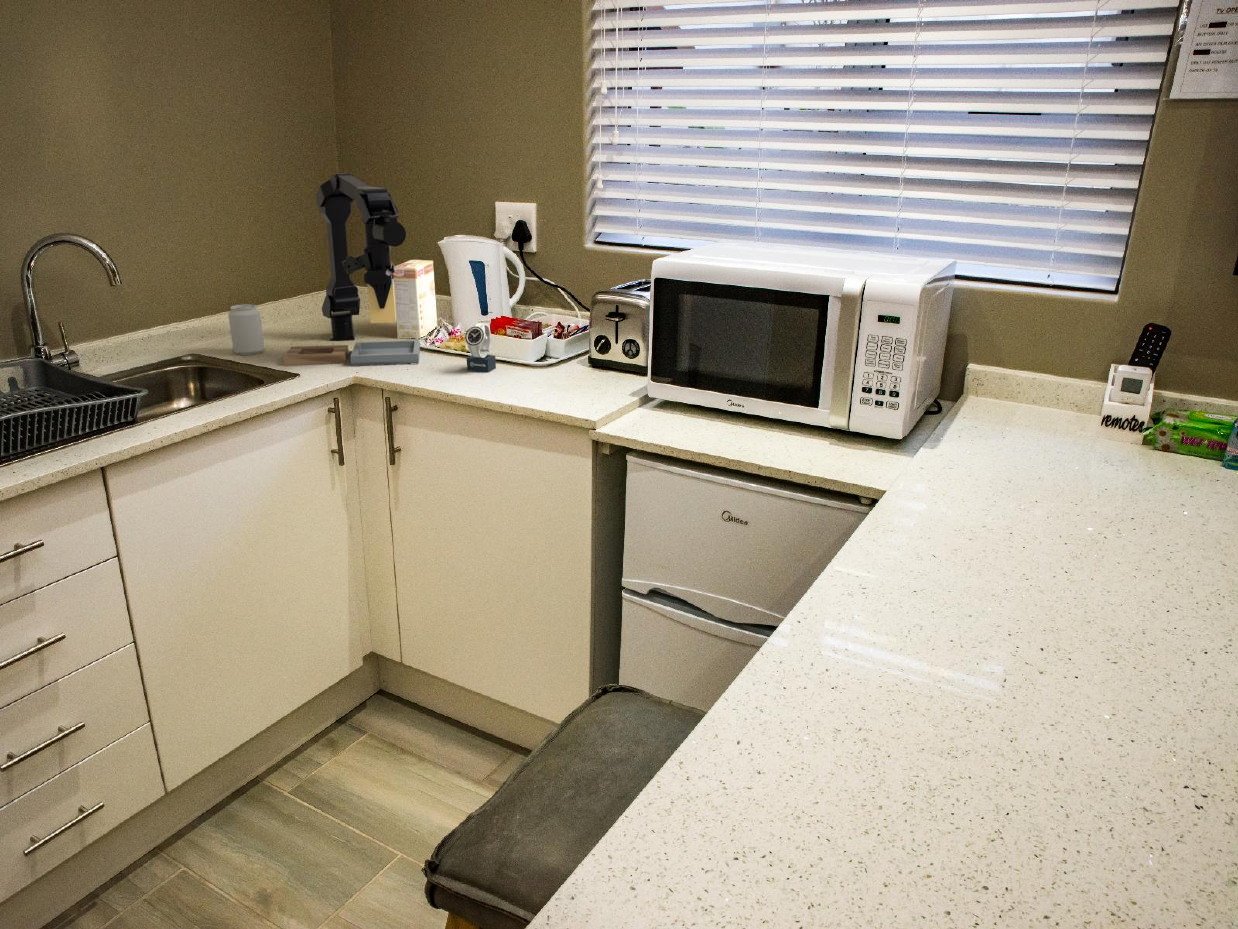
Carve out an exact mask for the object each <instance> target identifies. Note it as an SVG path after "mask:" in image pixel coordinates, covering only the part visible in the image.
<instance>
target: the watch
mask: <svg viewBox="0 0 1238 929" xmlns="http://www.w3.org/2000/svg"><path fill="white" fill-rule="evenodd" d="M491 335H492V333H491V328H490V326H489V325H488V324H487V323H479V322H478V323H477V322H476V323H474V324H472V325H471V327H469V328H468V329H467V331H466V333H465V335H464V340H465V343H466V344H467V345H466V346H467V349H468V350H469V353H470V355H469V356H467V357H466V371H467V372H468V371H469V372H478V373H490V372H491V371H494V370H495V369H497V366H496V365H497V364H496V355H492V354H491V355H490V354H489V353H490V350H491V344H492V343H491V342H492V337H491Z"/></svg>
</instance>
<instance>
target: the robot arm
mask: <svg viewBox="0 0 1238 929" xmlns="http://www.w3.org/2000/svg"><path fill="white" fill-rule="evenodd" d="M354 201H355V202H356V203H355V206H356V208H357V209H358V210H359V212H360V213H361V215H362V217H361V219H360V221H361V222H363V232H364V242H365V245H364V246H365V247H364V248H363V252H362V253H359V254H357V255H353V254H350V255H349V250H348V249H349V248H348V239H347V238H348V236H347V226H346V225H347V224H346V223H347V222H348V219H349V218H350V216H351V214H352V205H353V203H354ZM315 202H316V204H317V207H318V212H319V214H320V215H321V217H322V218H323V220H324V221H325V222H326V230H327V242H328V254H329V255H328V256H329V263H330V264H329V265H330V275H331V276H330V277H331V279H330V280H329V282H328V284H327V285H326V288H325V293H326V294H325V297H324V300H323V304H322V307H321V312H322V315H323V317H326V318H328V319H330V327H331V336H330V337H329V341H345V340H346V341H347V340H348V341H351V340H352V341H353V340H355V338H356V337H357V333H356V332H355V331H354V322H353V321H354V320H353V316H359V315H360V308H361V306H360V305H361V297H360V295H359V288H358V287H357V285H355V283H354V282H353V280H351V274H352V275H353V273H354V272H357V271H360V270H361V269H365V272H364V274H363V279H364V284H369V285H370V286H371V287H373V289H374V291H375V294H376V298H377V301H378V304H379V307H380V309H384V308H385V305H386V301H387V298H388V294H389V291H390V287H391V284H392V279H393V277H394V275H393V274H392V273H394V272H395V263H394V262H392V256H391V251H392V248H391V247H399V246H401V245H402V244H403V243H404V242H405V240H406V238H407V231H406V229H405V227H404V225H403V224H401V223H400V222H398V219H399V214H398V212H399V210H398V208H397V206H396V204H395V202H394V199H393V197H392V195H391V194H390V192H389V190H388V189H387V188H386V187H380V186H371V185H370V186H369V185H368V184H366V183H365V182H364V181H361V180H360V179H358V178H357V177H355V176H354V174H352V173H349V172H343V173H342V172H339V173H338V172H337V173H333V174H331V175H330V178H329V179H328V180H327V181H325V182H324V183H322V184H320V186H319V187H318V190H317V192H316V194H315Z"/></svg>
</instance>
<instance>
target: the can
mask: <svg viewBox="0 0 1238 929" xmlns="http://www.w3.org/2000/svg"><path fill="white" fill-rule="evenodd" d="M229 309H230V311H229V312H228V321H229V322H228V323H229V329H230V336H231V343H232V350H233V351H234V352H235V353H236V354H237V355H240V356H251V355H253V354H254V355H259V354H261V353H262V352H263V351H264V349H265V342H264V333H263V325H262V319H261V318H262V317H261V311H260V310H259V309H258V308H257V305H255V304H236V305H232V306H230V307H229Z"/></svg>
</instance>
